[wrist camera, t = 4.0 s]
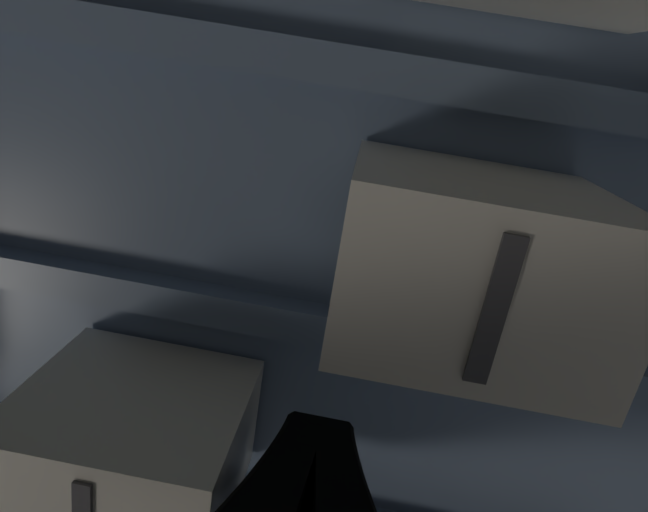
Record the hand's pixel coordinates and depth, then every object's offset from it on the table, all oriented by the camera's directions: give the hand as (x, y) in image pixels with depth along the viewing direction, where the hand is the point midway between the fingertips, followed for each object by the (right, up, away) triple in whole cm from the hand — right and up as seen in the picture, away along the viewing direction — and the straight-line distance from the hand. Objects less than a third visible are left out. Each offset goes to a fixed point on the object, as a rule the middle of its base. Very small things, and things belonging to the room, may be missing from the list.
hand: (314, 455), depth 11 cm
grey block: (-3, +1, +1) cm, 4 cm away
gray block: (+3, +5, -1) cm, 5 cm away
